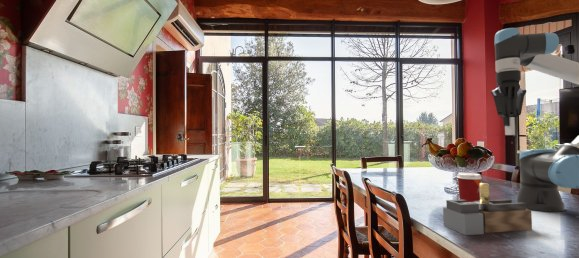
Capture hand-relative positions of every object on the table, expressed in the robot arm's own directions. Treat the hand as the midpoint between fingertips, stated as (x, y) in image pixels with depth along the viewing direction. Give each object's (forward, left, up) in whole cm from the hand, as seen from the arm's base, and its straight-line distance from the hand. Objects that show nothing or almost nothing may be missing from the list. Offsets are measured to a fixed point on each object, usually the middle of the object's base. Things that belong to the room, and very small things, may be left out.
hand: (510, 134), depth 111 cm
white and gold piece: (+24, +12, -23) cm, 36 cm away
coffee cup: (+14, -4, -30) cm, 33 cm away
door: (+17, +12, -29) cm, 36 cm away
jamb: (+30, +12, -29) cm, 43 cm away
